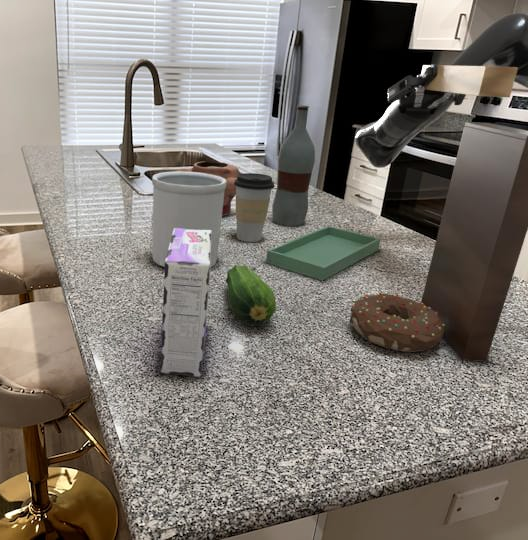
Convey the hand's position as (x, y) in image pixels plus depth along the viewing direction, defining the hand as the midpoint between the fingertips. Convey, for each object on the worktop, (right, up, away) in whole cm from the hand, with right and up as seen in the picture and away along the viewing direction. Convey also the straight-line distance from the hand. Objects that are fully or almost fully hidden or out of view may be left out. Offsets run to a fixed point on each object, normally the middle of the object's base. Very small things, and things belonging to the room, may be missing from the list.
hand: (450, 70), depth 86 cm
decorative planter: (-37, -18, +57) cm, 71 cm away
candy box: (-45, -46, -12) cm, 65 cm away
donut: (-12, -44, -6) cm, 47 cm away
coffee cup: (-28, -26, +38) cm, 54 cm away
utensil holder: (-44, -32, +22) cm, 59 cm away
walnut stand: (-3, -44, -4) cm, 44 cm away
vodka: (-15, -21, +52) cm, 58 cm away
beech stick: (0, -5, -3) cm, 6 cm away
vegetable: (-34, -40, +3) cm, 53 cm away
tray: (-13, -31, +28) cm, 43 cm away
